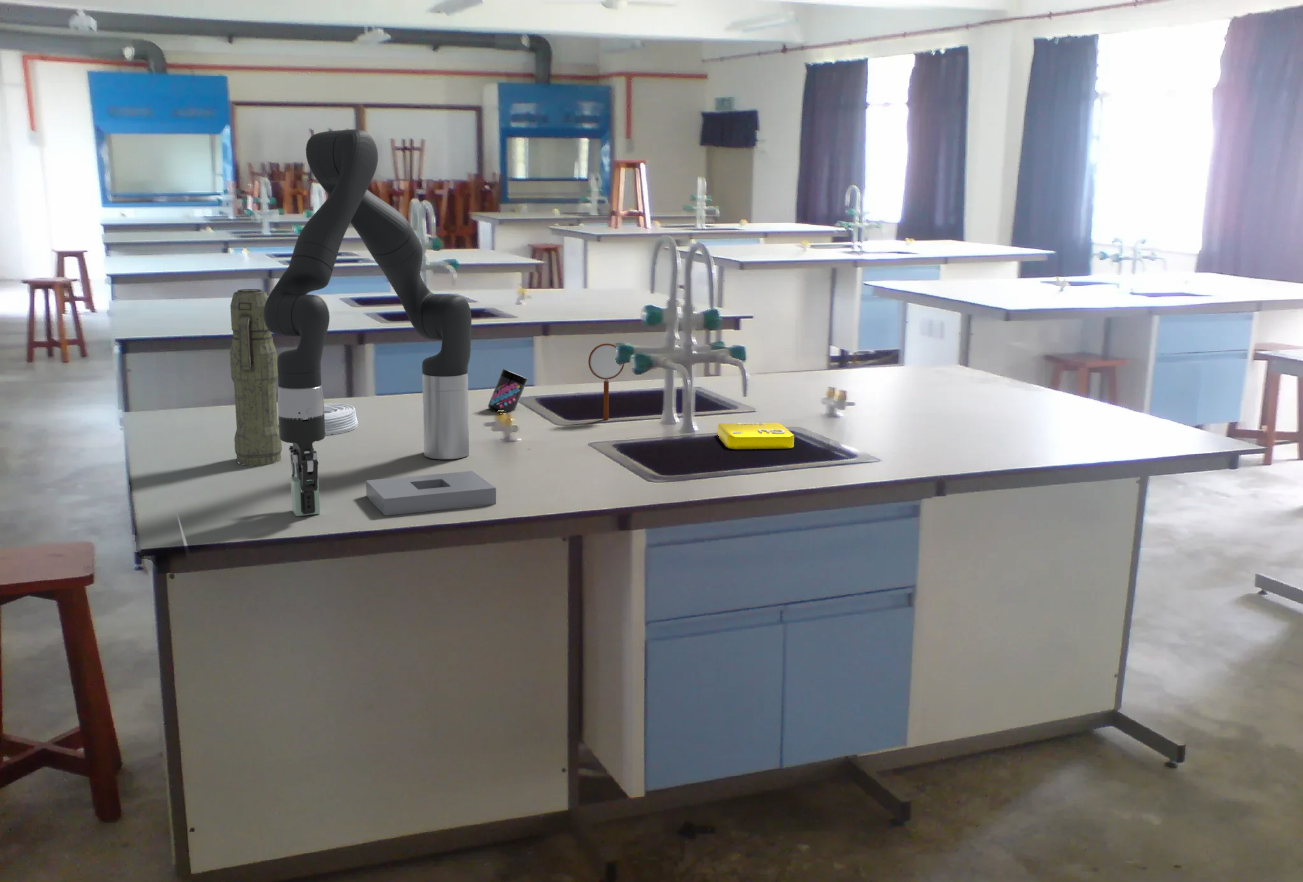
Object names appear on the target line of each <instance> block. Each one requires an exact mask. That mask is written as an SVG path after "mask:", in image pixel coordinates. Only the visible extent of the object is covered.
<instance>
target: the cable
mask: <svg viewBox="0 0 1303 882" xmlns="http://www.w3.org/2000/svg"><path fill="white" fill-rule="evenodd" d="M324 418H325V437H328V436H332V435H331V434H336V435H339V434H338V433H341V434H345V433H348V431H349V432H351V430H352V431H354V430H356V429H357V428H358V425H359V421H358V418H357V414H356V408H355V407H354V406H353V405H351V404H347V403H339V402H338V403H324ZM356 427H357V428H356ZM355 428H356V429H355ZM353 429H354V430H353ZM327 435H328V436H327Z"/></svg>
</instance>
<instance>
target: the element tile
mask: <svg viewBox="0 0 1303 882" xmlns="http://www.w3.org/2000/svg"><path fill="white" fill-rule="evenodd" d="M717 433H718V436H719V437H718V436H717V437H718V439H719V440H720V441H721V442H722V443H723V445H724V446H725V447H726V448H728V449H731V450H732V449H733V450H753V449H754V450H758V449H759V450H760V449H761V450H763V449H764V450H766V449H767V450H768V449H770V450H771V449H792V448H794V446H795V444H794V443H795V434H794V433H792V431H790V430H789V429H788V428H787V427H785V426H784V425H783V424H781V423H780V422H724V423H723V422H722V423H719V424H718V425H717Z"/></svg>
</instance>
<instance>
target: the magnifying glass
mask: <svg viewBox="0 0 1303 882" xmlns="http://www.w3.org/2000/svg"><path fill="white" fill-rule="evenodd" d="M616 347H618V346H617V345H615V344H614V343H610V342H609V343H607V342H605V343H601V344H599V345H596V346H595V347H594V348H593V349H592V350H591V352H590V353H589V356H588V368H589V370H590V372H591V373H592V375H594V376H595V377H596V378H598V379H601V380H603V421H609V411H610V410H609V408H610V407H609V405H610V404H609V400H610V398H609V397H610V394H609V393H610V390H609V389H610V388H609V387H610V386H609V385H610V382H609V380H611V379H614V378H616V377H618V376H619V375H620V374H621V372H622V371H623V369H624V367H625V363H624V364H623V365H621V366H619V365H618V364H617V363H616V360H615V358H616Z"/></svg>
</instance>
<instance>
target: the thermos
mask: <svg viewBox="0 0 1303 882" xmlns="http://www.w3.org/2000/svg"><path fill="white" fill-rule="evenodd" d="M267 293H268V292H267V291H263V289H259V288H248V289H247V288H245V289H237V291H234V292H233V294H232V298H231V302H230V306H229V307H230V321H231V330H232V336H231V340H232V341H231V342H232V344H231V347H230V350H229V360H230V361H229V362H230V378H231V380H232V382H233V386H234V406H235V421H236V431H235V433H234V440H233V441H234V453H235V454H236V462H239V463H240V464H239V465H241V464H245V465H244V466H246V465H255V466H254V467H258V466H259V467H260V465H261V466H268V465H274V464H277V463H279V462H281V460H282V450H283V445H282V443H283V441H282V440H280V438H279V421H278V397H277V386H276V385H277V384H276V382H277V381H278V370H277V359H278V353H277V350H276V346H275V344H274V340H273V339H274V337H273V335H272V332H270V331H269V330H268V328H267V327H266V325H265V322H264V306H265V303H266V301H267V298H268V296H269V295H268V294H267ZM276 462H277V463H276ZM257 465H258V466H257Z"/></svg>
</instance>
